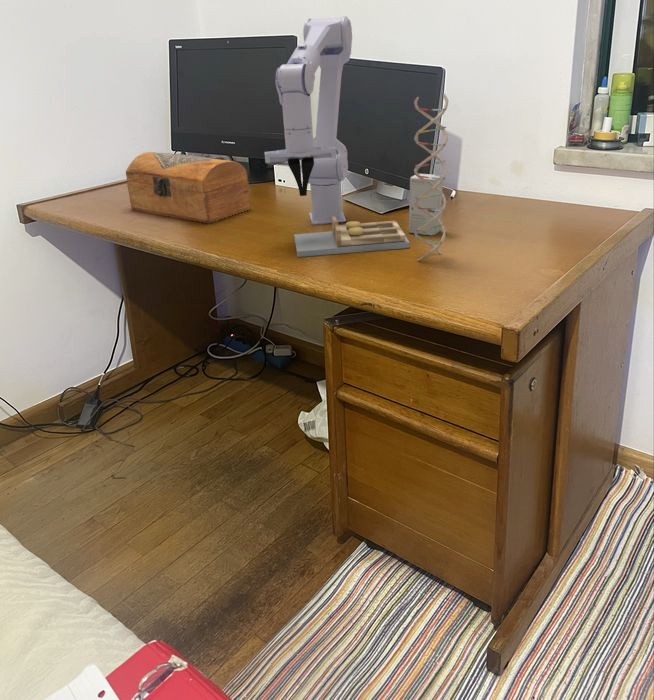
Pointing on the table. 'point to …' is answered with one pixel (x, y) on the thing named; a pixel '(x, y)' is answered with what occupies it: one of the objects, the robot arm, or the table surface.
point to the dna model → (433, 154)
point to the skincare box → (424, 204)
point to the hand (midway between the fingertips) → (303, 194)
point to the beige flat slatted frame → (368, 233)
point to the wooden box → (187, 186)
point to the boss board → (327, 244)
